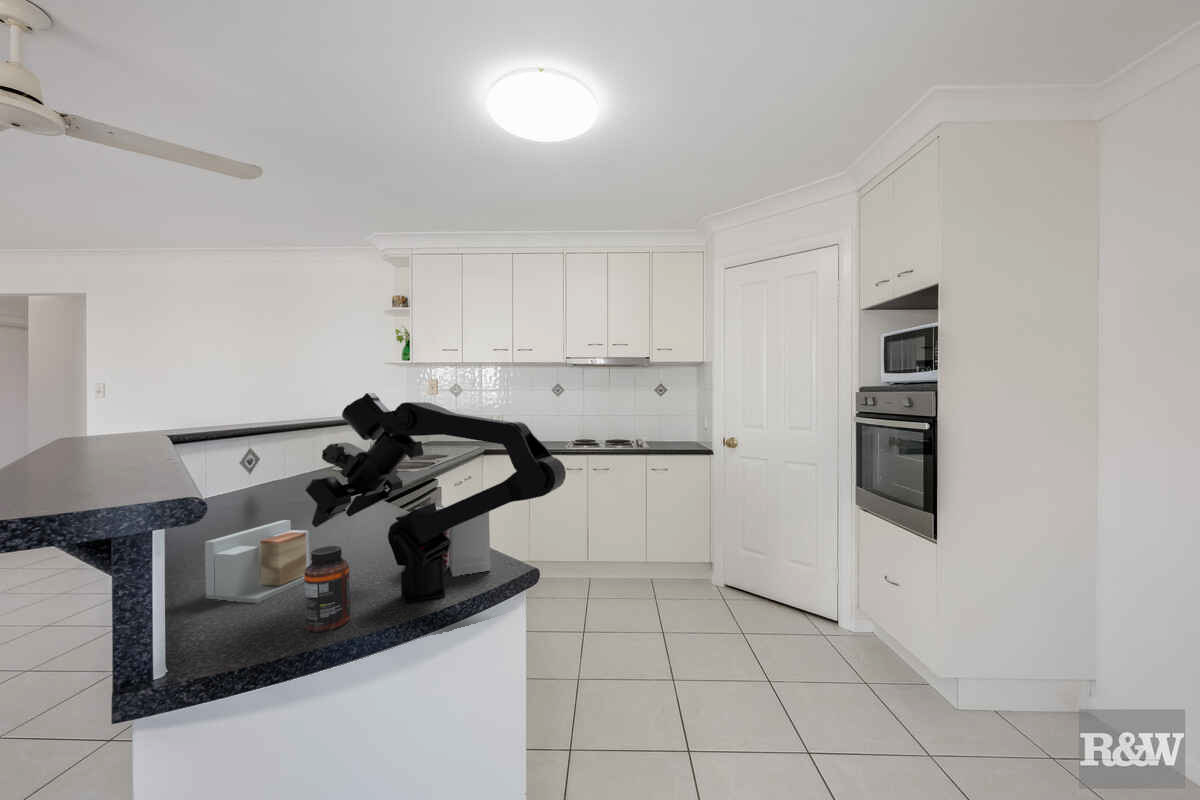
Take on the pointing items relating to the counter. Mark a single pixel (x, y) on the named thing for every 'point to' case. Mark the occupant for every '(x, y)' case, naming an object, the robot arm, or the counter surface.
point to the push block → (283, 558)
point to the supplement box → (470, 546)
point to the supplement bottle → (327, 590)
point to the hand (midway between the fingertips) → (331, 519)
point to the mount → (244, 564)
